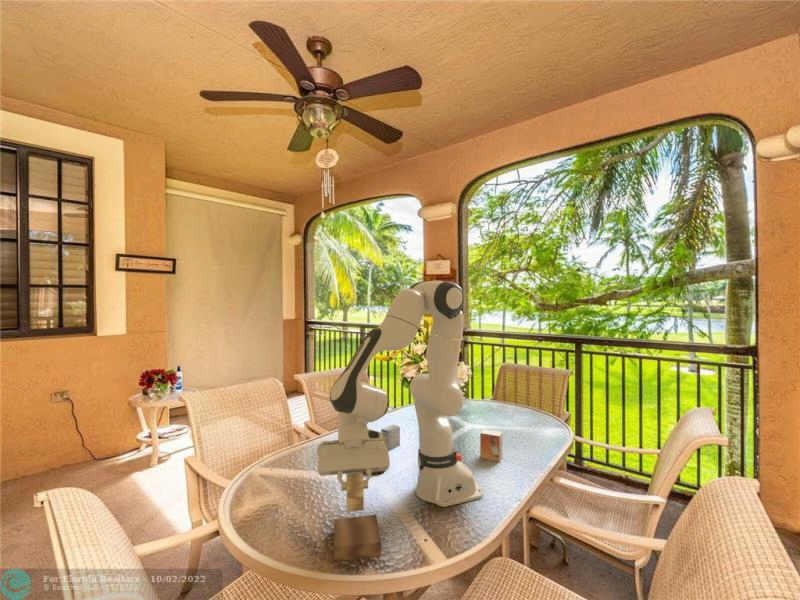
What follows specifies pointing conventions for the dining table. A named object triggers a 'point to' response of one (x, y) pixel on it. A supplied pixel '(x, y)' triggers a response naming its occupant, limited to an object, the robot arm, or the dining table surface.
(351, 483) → the maple block
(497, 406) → the dining table surface
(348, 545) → the walnut base block
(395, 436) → the medicine box
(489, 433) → the small box
